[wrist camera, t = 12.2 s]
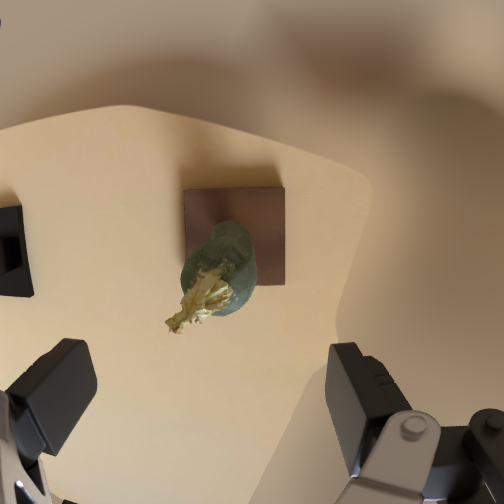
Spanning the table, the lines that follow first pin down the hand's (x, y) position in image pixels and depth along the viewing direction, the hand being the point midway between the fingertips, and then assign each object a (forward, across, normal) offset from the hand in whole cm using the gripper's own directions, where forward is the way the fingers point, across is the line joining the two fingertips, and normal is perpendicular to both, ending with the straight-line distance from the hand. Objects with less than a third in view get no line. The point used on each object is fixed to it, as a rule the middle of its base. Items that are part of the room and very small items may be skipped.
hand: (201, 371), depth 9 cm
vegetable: (+23, 0, 0) cm, 23 cm away
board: (+24, 0, 0) cm, 24 cm away
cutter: (+25, +32, +1) cm, 40 cm away
